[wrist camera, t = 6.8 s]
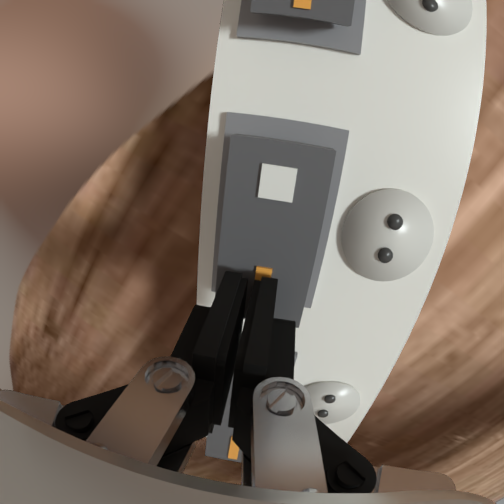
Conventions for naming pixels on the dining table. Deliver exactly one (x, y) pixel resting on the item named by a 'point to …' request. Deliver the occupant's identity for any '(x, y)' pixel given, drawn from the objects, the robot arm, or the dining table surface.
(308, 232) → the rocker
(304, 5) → the rocker
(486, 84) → the dining table surface
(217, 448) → the rocker
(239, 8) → the power strip
